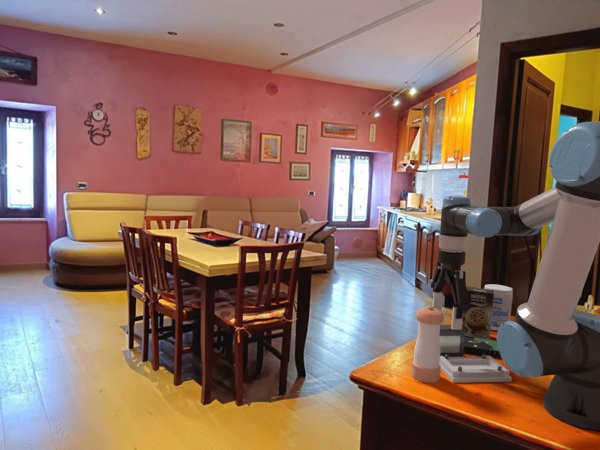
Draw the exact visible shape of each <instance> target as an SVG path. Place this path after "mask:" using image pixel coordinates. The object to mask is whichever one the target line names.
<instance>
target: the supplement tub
mask: <svg viewBox="0 0 600 450" xmlns="http://www.w3.org/2000/svg"><path fill="white" fill-rule="evenodd" d="M483 289H489V290H494V299H493V309H492V319H491V329H490V331H496V332H498V329H499V327H500V326H501V325H502V324H503V323H505V322H507V321H511V317H512V316H511V314H512V305H513V304H512V303H513V297H514V296H513V295H514V291H513V290H514V289H513V288H512V287H509V286H507V285H501V284H494V283H493V284H492V283H491V284H488V283H487V284H485V285H484V287H483Z"/></svg>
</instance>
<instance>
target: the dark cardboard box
mask: <svg viewBox="0 0 600 450" xmlns="http://www.w3.org/2000/svg"><path fill="white" fill-rule="evenodd" d="M466 288H467V296H468V303H469V306H468V307H464V309H463V319H462V327H463V328H465V329H466V332H465V336H470V337H478V338H485V339H491V337H490V336H491V330H490V329H491V319H492V309H493V299H494V290H489V289H484V288H480V287H474V286H467V285H466Z"/></svg>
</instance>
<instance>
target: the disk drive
mask: <svg viewBox="0 0 600 450" xmlns="http://www.w3.org/2000/svg"><path fill="white" fill-rule="evenodd" d="M464 354H466V355H467V354H468V355H476V356H479V357H482V354H485V355H486V356H491V357H492V358H493V359H495V358H496V359H501V360H503V359H502V357H501V355H500V352H499V349H498V345H497V339H492V338H490V339H485V338H478V337H470V336H465V344H464Z"/></svg>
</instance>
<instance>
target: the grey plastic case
mask: <svg viewBox="0 0 600 450" xmlns="http://www.w3.org/2000/svg"><path fill="white" fill-rule="evenodd" d="M451 325H452V324H440V335H439V341H440V356H443V357H445V354H448V355H449V357H465V356H464V355H465V353H464V344H465V332H466V329H465V328H463V327H462V330H452V329H451Z"/></svg>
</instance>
